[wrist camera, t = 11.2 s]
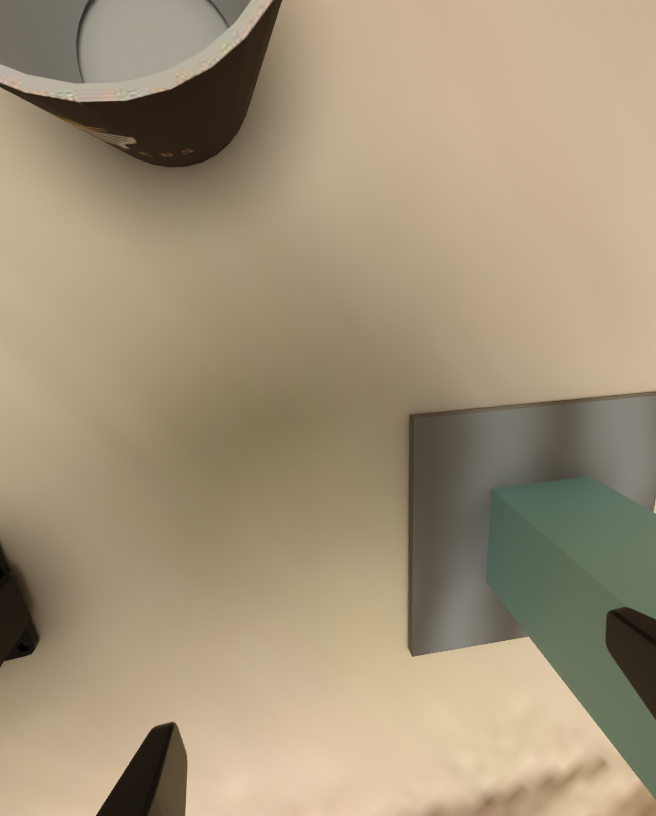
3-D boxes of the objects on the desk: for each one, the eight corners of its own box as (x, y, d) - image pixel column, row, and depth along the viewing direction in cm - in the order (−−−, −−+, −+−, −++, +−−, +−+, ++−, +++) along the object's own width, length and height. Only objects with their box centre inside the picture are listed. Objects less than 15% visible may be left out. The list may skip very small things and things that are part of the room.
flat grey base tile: (408, 648, 26) (440, 723, 21) (409, 415, 22) (449, 448, 17) (626, 611, 28) (696, 673, 23) (664, 391, 24) (757, 415, 19)
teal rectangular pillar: (486, 581, 24) (660, 806, 14) (491, 488, 23) (692, 663, 12) (579, 567, 25) (810, 769, 15) (590, 476, 24) (857, 630, 13)
